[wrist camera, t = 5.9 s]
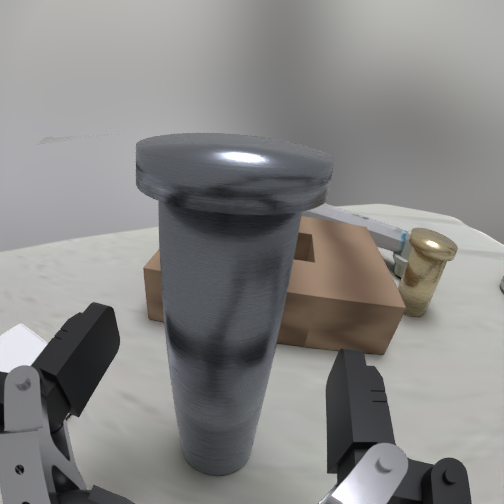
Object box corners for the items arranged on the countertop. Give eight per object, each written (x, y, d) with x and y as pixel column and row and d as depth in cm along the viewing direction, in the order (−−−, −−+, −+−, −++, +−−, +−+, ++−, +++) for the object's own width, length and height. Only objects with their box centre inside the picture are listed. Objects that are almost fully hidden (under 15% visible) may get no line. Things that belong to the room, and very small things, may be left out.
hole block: (356, 263, 37) (366, 227, 35) (383, 354, 23) (405, 307, 21) (199, 239, 39) (201, 201, 36) (148, 318, 25) (143, 267, 22)
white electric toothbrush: (300, 192, 50) (449, 229, 33) (298, 230, 52) (439, 278, 35) (278, 195, 47) (440, 238, 29) (277, 237, 49) (428, 292, 32)
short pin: (421, 294, 32) (444, 233, 28) (435, 322, 28) (465, 255, 24) (383, 289, 32) (404, 224, 29) (394, 318, 28) (422, 246, 24)
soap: (-22, 378, 15) (-38, 352, 13) (32, 336, 20) (22, 309, 19) (39, 452, 12) (18, 429, 11) (101, 390, 18) (91, 363, 16)
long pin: (265, 419, 17) (324, 146, 10) (255, 491, 13) (350, 181, 5) (184, 404, 18) (178, 130, 10) (161, 472, 13) (94, 154, 6)
